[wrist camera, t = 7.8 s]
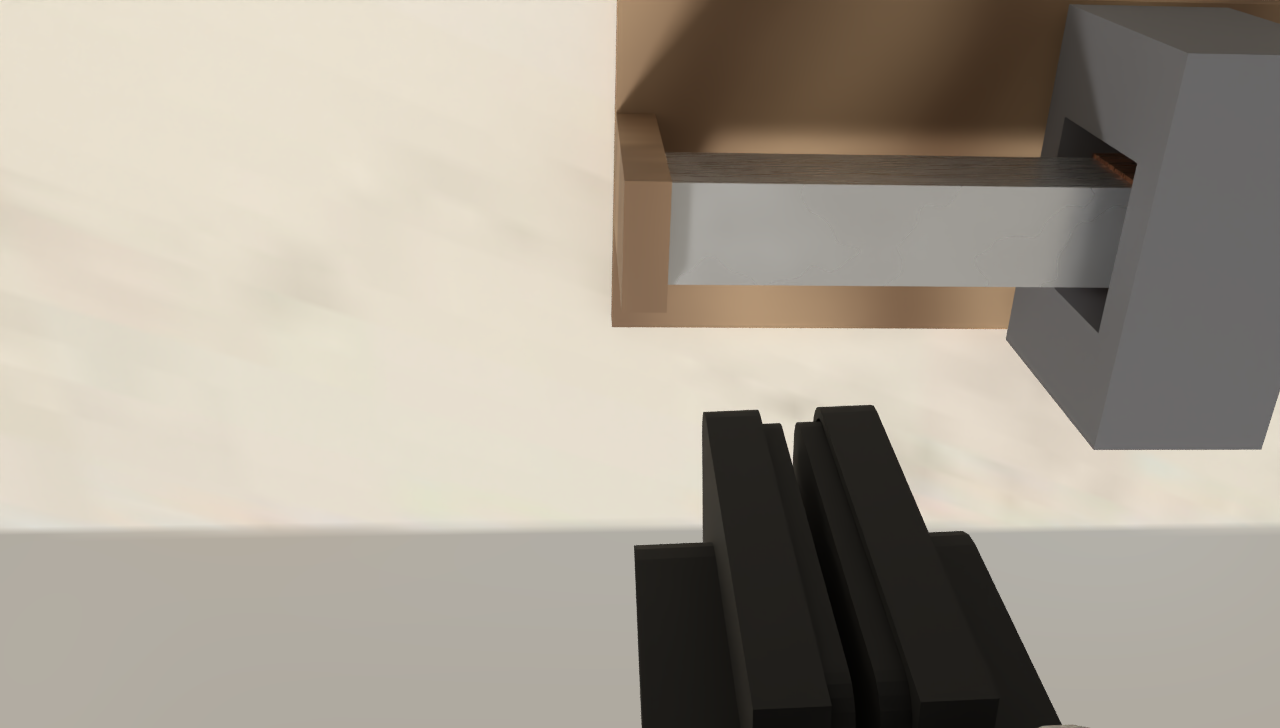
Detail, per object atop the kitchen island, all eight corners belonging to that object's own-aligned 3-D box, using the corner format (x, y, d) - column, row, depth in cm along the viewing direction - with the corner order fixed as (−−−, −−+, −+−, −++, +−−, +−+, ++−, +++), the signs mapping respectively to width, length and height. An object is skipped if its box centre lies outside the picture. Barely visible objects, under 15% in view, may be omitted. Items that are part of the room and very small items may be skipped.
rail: (1331, 155, 28) (1400, 188, 25) (1300, 255, 29) (1363, 294, 27) (640, 146, 27) (646, 179, 24) (637, 249, 28) (642, 290, 26)
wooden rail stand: (1312, 0, 29) (1499, 51, 23) (1223, 318, 33) (1363, 430, 27) (617, -15, 28) (627, 34, 22) (611, 315, 32) (618, 430, 26)
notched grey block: (1228, 7, 28) (1384, 57, 22) (1145, 339, 32) (1260, 449, 26) (1069, 4, 27) (1188, 53, 22) (1005, 339, 32) (1093, 449, 26)
